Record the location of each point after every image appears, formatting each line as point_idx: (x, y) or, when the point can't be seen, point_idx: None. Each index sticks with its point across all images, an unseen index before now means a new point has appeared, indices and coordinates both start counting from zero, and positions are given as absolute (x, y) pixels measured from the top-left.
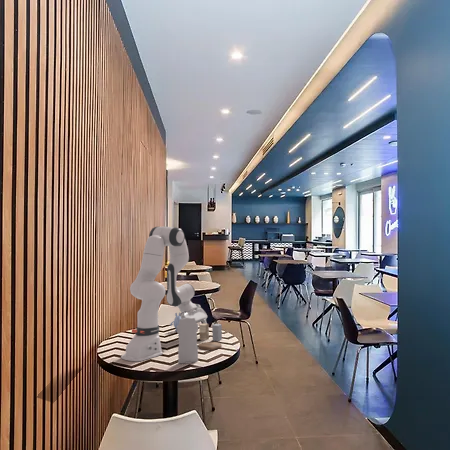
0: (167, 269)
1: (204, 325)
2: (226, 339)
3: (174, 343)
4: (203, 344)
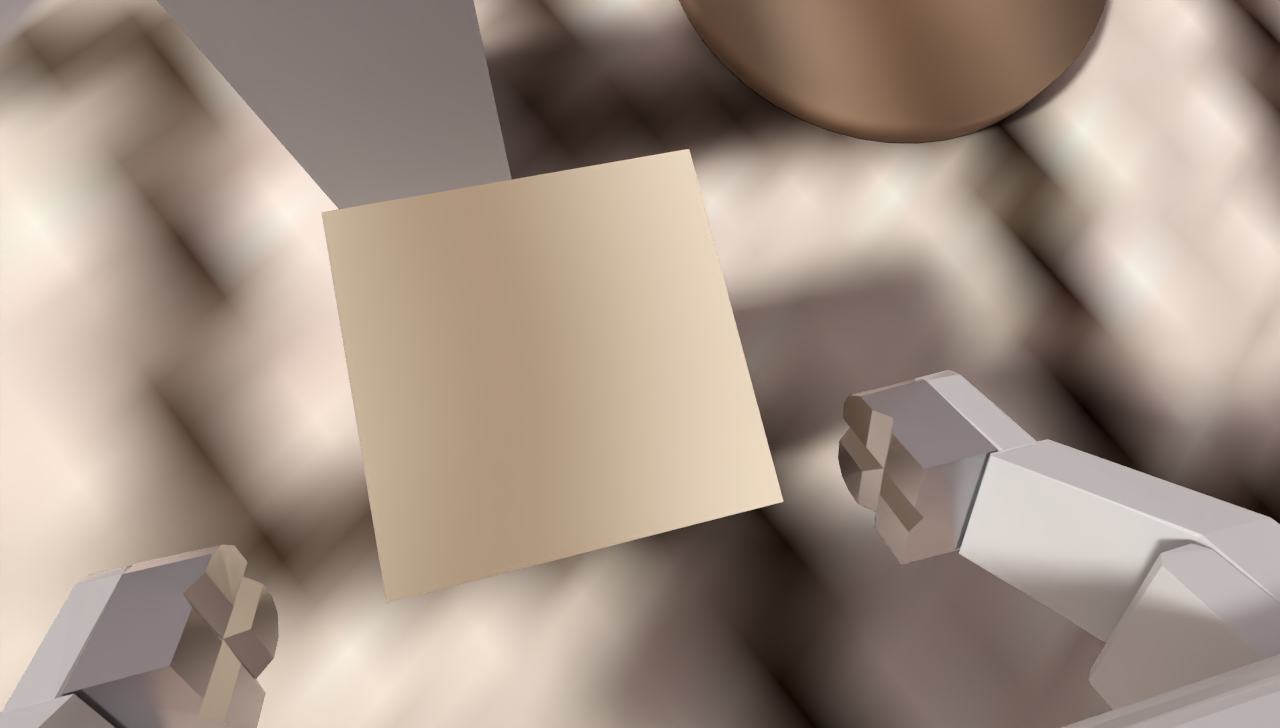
0: None
1: (689, 184)
2: None
3: None
4: (964, 25)
